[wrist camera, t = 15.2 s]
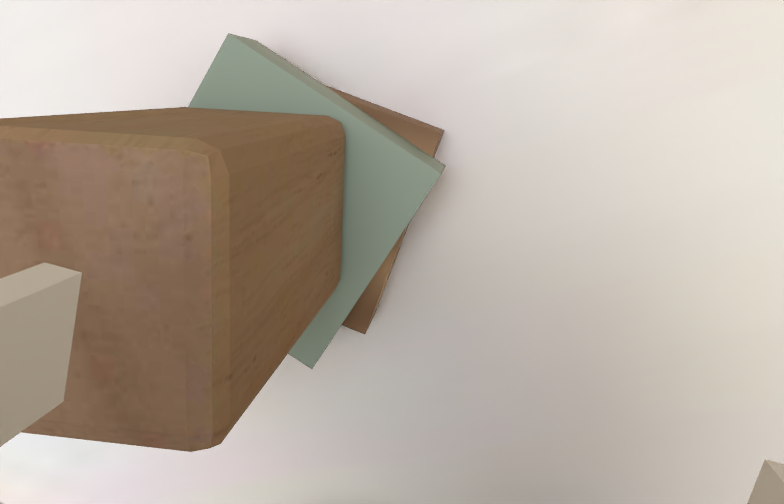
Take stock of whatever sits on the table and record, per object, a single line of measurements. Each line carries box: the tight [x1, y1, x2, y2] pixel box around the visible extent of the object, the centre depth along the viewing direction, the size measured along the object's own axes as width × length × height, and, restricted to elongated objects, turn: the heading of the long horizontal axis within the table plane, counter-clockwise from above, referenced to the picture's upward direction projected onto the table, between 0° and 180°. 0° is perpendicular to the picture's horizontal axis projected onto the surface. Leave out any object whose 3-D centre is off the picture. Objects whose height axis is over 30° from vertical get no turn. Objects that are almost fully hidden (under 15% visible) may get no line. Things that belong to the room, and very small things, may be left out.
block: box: [0, 107, 345, 452], centre depth 31 cm, size 10×10×20 cm
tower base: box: [324, 85, 444, 334], centre depth 48 cm, size 14×14×5 cm
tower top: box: [189, 33, 445, 369], centre depth 43 cm, size 14×14×5 cm
